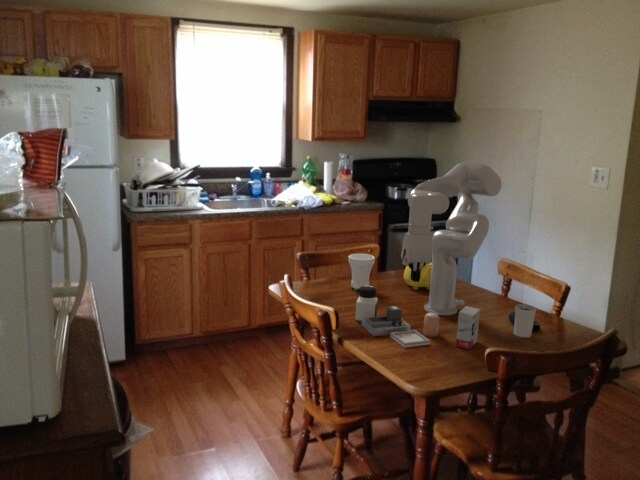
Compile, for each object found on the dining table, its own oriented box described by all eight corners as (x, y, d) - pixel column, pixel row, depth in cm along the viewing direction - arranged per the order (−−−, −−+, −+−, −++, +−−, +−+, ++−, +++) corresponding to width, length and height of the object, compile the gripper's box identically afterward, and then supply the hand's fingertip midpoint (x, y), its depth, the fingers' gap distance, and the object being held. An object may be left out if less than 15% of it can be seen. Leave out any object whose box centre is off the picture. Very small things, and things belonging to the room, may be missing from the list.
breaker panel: (396, 321, 210) (397, 312, 210) (410, 332, 201) (411, 322, 201) (361, 325, 205) (362, 315, 204) (374, 336, 196) (374, 326, 195)
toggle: (396, 318, 206) (397, 305, 205) (401, 321, 203) (402, 308, 202) (386, 319, 205) (387, 306, 204) (391, 322, 201) (391, 309, 200)
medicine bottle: (374, 322, 209) (376, 290, 206) (355, 320, 210) (356, 289, 208) (376, 316, 216) (378, 285, 213) (357, 314, 217) (359, 283, 214)
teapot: (427, 280, 264) (429, 253, 261) (444, 294, 245) (447, 265, 242) (398, 281, 261) (400, 253, 258) (413, 295, 242) (415, 265, 239)
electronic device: (541, 336, 207) (530, 316, 221) (542, 322, 205) (531, 303, 219) (515, 337, 208) (505, 317, 222) (515, 324, 206) (505, 304, 220)
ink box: (469, 350, 188) (472, 315, 186) (454, 346, 191) (458, 312, 188) (477, 341, 195) (480, 308, 193) (463, 338, 198) (466, 305, 195)
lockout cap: (432, 330, 204) (434, 311, 202) (440, 335, 199) (442, 316, 197) (420, 332, 202) (422, 312, 200) (428, 337, 197) (429, 317, 196)
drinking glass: (522, 339, 199) (525, 311, 197) (508, 332, 205) (511, 305, 203) (536, 336, 202) (540, 309, 200) (522, 329, 208) (525, 303, 206)
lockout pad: (414, 333, 200) (415, 329, 200) (429, 344, 191) (429, 340, 191) (390, 336, 197) (390, 332, 196) (404, 347, 188) (404, 343, 188)
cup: (348, 283, 254) (349, 252, 251) (373, 285, 252) (375, 254, 249) (345, 291, 243) (347, 259, 240) (372, 293, 241) (374, 261, 238)
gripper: (432, 226, 205) (427, 276, 209) (394, 228, 200) (391, 279, 204) (443, 231, 199) (439, 282, 203) (405, 232, 193) (401, 285, 197)
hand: (415, 280), depth 203 cm, fingers closed
